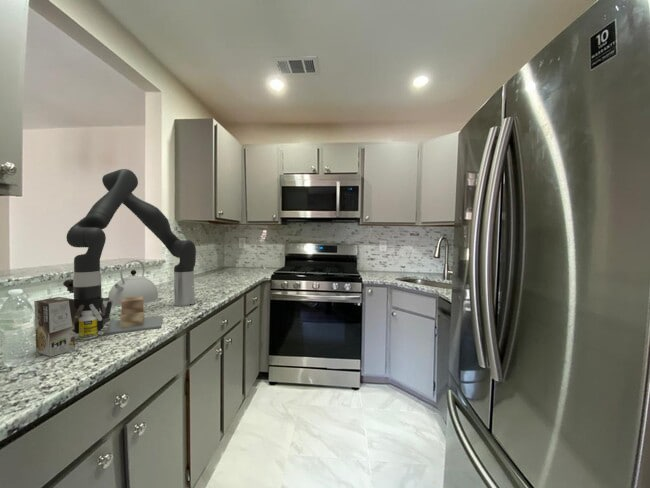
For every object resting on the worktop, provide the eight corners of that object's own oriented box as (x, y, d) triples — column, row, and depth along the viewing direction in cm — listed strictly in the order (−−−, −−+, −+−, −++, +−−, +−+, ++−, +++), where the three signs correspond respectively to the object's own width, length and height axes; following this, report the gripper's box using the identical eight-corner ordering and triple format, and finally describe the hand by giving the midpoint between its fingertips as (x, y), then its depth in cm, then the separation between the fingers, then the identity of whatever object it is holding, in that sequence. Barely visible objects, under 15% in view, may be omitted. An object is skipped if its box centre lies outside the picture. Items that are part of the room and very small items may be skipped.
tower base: (144, 320, 118) (143, 308, 118) (142, 325, 112) (142, 312, 111) (123, 322, 115) (123, 310, 114) (120, 327, 108) (120, 314, 108)
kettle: (137, 308, 140) (136, 262, 140) (92, 307, 141) (91, 262, 140) (166, 297, 165) (166, 258, 165) (128, 296, 166) (127, 258, 165)
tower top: (142, 308, 118) (142, 296, 118) (143, 312, 112) (143, 299, 112) (121, 310, 114) (121, 298, 114) (121, 314, 108) (121, 301, 108)
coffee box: (76, 349, 90) (74, 298, 89) (49, 357, 84) (48, 303, 83) (61, 344, 94) (59, 296, 93) (35, 352, 88) (33, 300, 87)
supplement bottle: (82, 341, 97) (81, 312, 96) (76, 338, 100) (75, 310, 99) (101, 336, 101) (100, 309, 101) (95, 333, 104) (94, 307, 104)
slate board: (162, 317, 125) (162, 315, 125) (160, 328, 111) (160, 326, 111) (112, 323, 117) (112, 321, 116) (103, 335, 102) (103, 333, 102)
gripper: (114, 281, 106) (115, 325, 107) (64, 284, 100) (65, 331, 100) (110, 284, 100) (111, 332, 100) (56, 287, 93) (58, 338, 94)
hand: (88, 331), depth 100 cm, fingers closed on supplement bottle, 5 cm apart
